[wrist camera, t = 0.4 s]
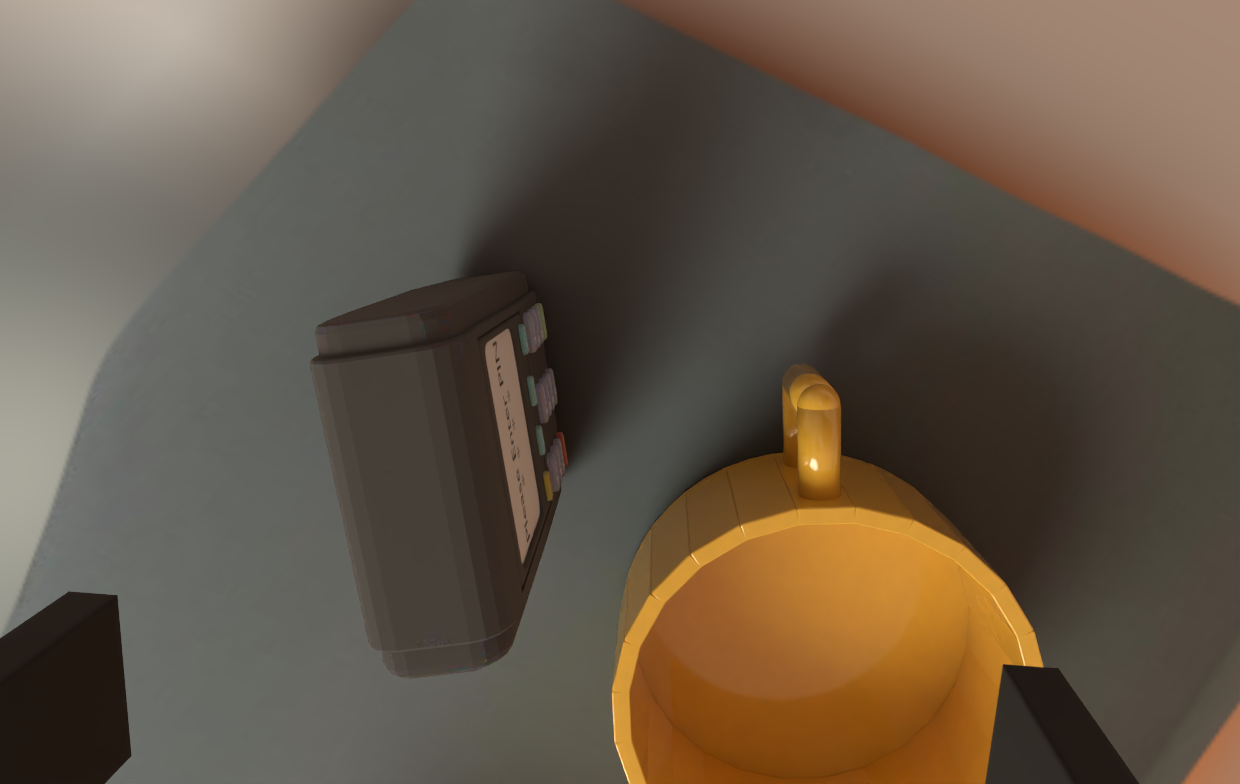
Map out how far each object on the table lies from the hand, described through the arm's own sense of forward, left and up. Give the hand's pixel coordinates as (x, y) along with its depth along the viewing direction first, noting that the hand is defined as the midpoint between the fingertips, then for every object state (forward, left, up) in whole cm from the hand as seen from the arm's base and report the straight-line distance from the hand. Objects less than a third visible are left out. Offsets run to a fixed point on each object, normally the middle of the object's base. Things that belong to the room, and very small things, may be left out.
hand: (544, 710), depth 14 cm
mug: (+8, +7, -23) cm, 26 cm away
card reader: (0, -4, -24) cm, 24 cm away
